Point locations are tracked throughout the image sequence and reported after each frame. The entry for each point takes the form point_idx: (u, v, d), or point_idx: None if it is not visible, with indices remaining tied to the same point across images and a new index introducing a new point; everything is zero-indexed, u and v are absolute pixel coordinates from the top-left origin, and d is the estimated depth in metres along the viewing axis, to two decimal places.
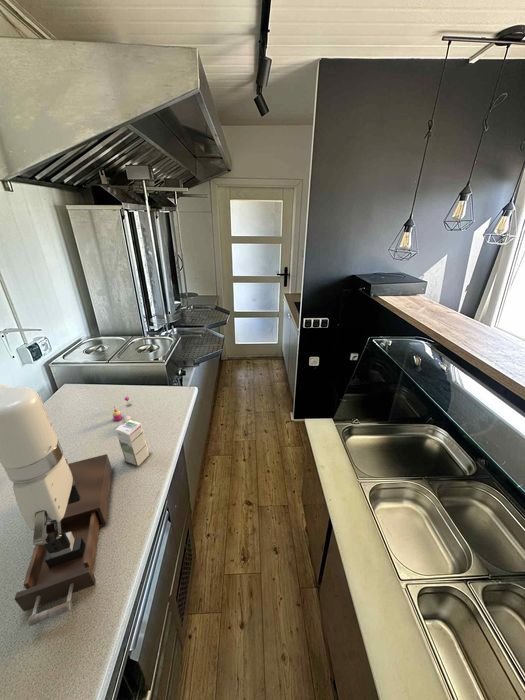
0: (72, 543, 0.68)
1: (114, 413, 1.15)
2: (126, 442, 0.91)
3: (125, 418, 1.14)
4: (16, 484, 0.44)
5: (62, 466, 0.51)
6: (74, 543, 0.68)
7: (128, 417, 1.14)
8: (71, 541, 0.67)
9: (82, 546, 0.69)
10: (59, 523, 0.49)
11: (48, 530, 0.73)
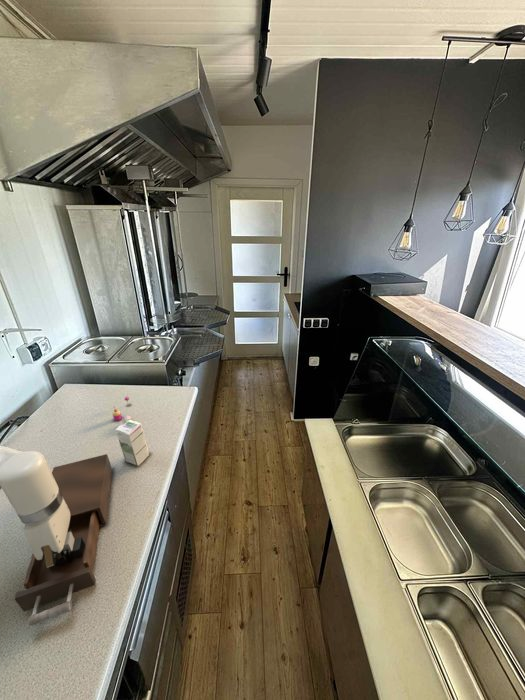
0: (72, 543, 0.68)
1: (114, 413, 1.15)
2: (126, 442, 0.91)
3: (125, 418, 1.14)
4: (26, 526, 0.58)
5: (62, 507, 0.64)
6: (74, 543, 0.68)
7: (128, 417, 1.14)
8: (71, 541, 0.67)
9: (82, 546, 0.69)
10: (63, 546, 0.64)
11: None
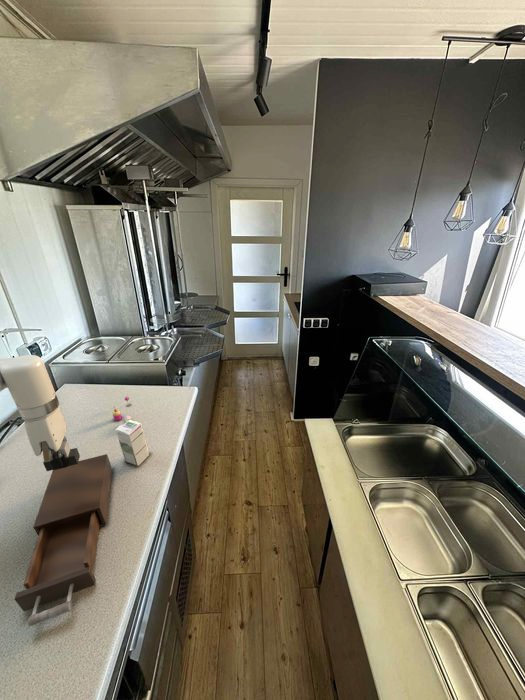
0: (68, 451, 0.75)
1: (114, 413, 1.15)
2: (126, 442, 0.91)
3: (125, 418, 1.14)
4: (26, 421, 0.65)
5: (58, 414, 0.71)
6: (70, 452, 0.75)
7: (128, 417, 1.14)
8: (67, 448, 0.74)
9: (77, 455, 0.76)
10: (59, 449, 0.71)
11: (48, 530, 0.73)
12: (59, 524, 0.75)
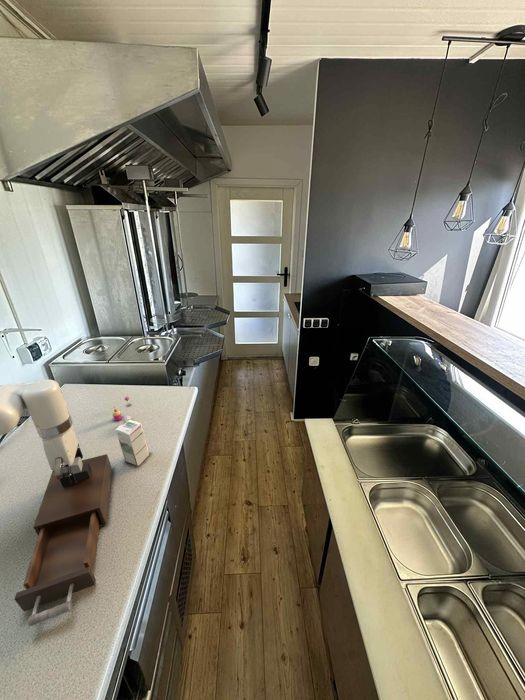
0: (81, 466, 0.82)
1: (114, 413, 1.15)
2: (126, 442, 0.91)
3: (125, 418, 1.14)
4: (44, 439, 0.71)
5: (71, 432, 0.78)
6: (82, 467, 0.83)
7: (128, 417, 1.14)
8: (80, 464, 0.82)
9: (89, 470, 0.83)
10: (70, 467, 0.76)
11: (48, 530, 0.73)
12: (59, 524, 0.75)
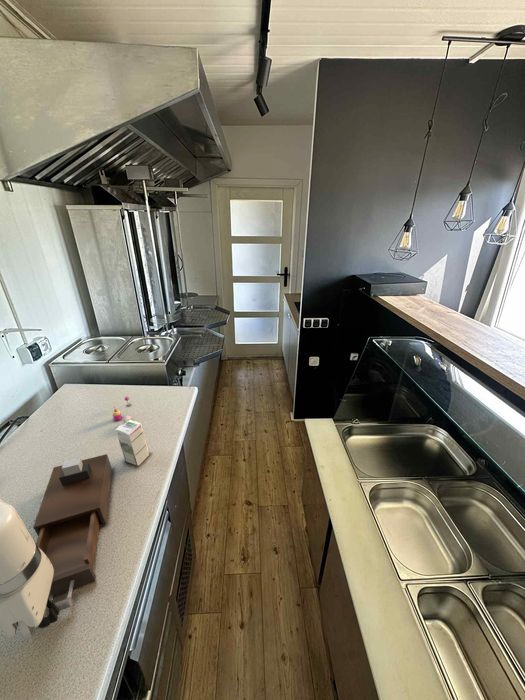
0: (81, 466, 0.82)
1: (114, 413, 1.15)
2: (126, 442, 0.91)
3: (125, 418, 1.14)
4: None
5: (41, 566, 0.52)
6: (82, 467, 0.83)
7: (128, 417, 1.14)
8: (80, 464, 0.82)
9: (89, 470, 0.83)
10: (44, 609, 0.53)
11: (49, 527, 0.73)
12: (60, 522, 0.76)
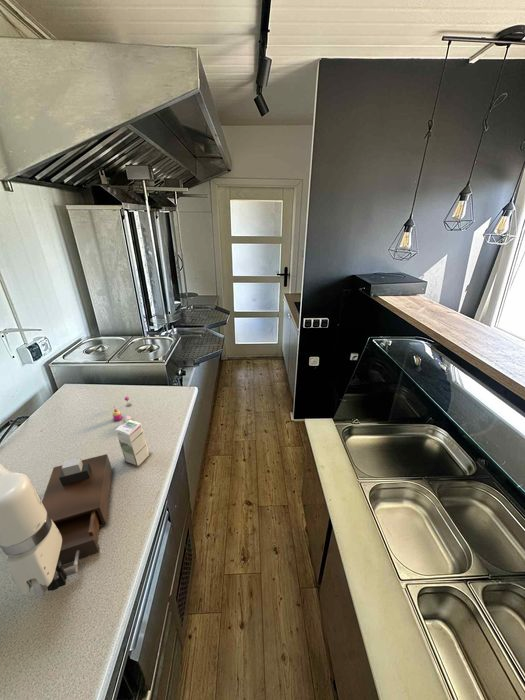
0: (81, 466, 0.82)
1: (114, 413, 1.15)
2: (126, 442, 0.91)
3: (125, 418, 1.14)
4: (10, 558, 0.51)
5: (51, 533, 0.58)
6: (82, 467, 0.83)
7: (128, 417, 1.14)
8: (80, 464, 0.82)
9: (89, 470, 0.83)
10: None
11: None
12: None
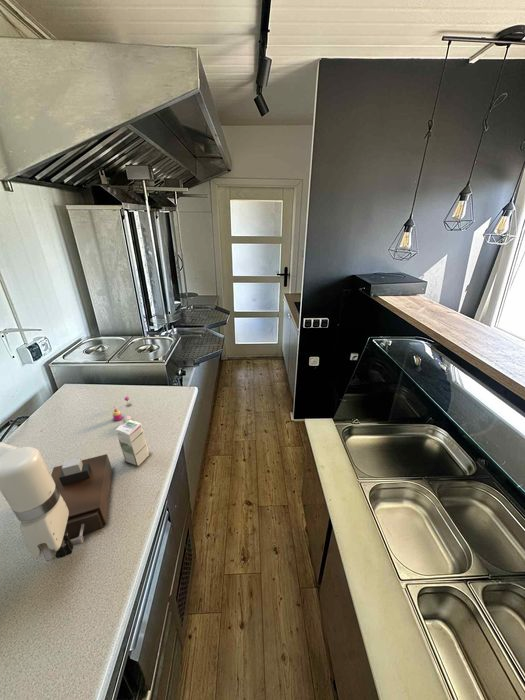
0: (81, 466, 0.82)
1: (114, 413, 1.15)
2: (126, 442, 0.91)
3: (125, 418, 1.14)
4: (23, 523, 0.56)
5: (59, 504, 0.63)
6: (82, 467, 0.83)
7: (128, 417, 1.14)
8: (80, 464, 0.82)
9: (89, 470, 0.83)
10: (62, 540, 0.64)
11: None
12: None
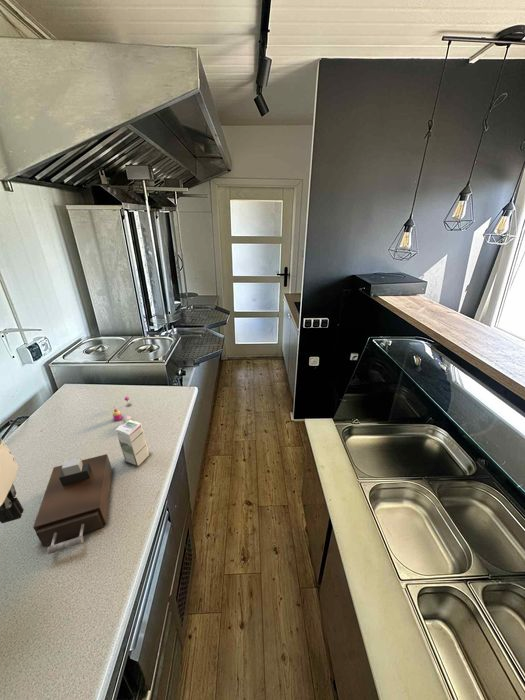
0: (81, 466, 0.82)
1: (114, 413, 1.15)
2: (126, 442, 0.91)
3: (125, 418, 1.14)
4: None
5: (2, 455, 0.52)
6: (82, 467, 0.83)
7: (128, 417, 1.14)
8: (80, 464, 0.82)
9: (89, 470, 0.83)
10: (6, 499, 0.52)
11: None
12: None
